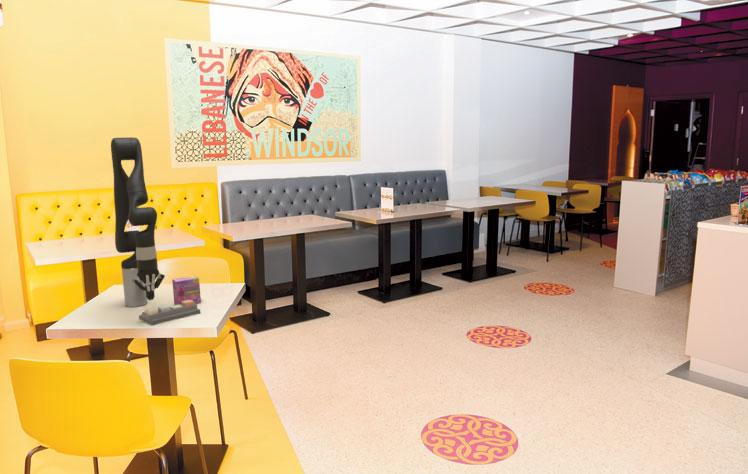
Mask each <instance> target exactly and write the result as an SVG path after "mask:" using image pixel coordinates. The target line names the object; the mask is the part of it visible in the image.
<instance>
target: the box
mask: <svg viewBox="0 0 748 474" xmlns="http://www.w3.org/2000/svg"><path fill="white" fill-rule="evenodd" d="M171 281H172V291H173V292H172V293H173V294H172V295H173V304H174V305H179V304H181V301H186V300H192V301H194V303H195V304H197V305H198V304H200V303H202V301H201V300H202V299H201V286H200V277H198V276H196V275H190V276H185V277H179V278H178V277H177V278H173V279H171Z"/></svg>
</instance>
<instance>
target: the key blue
mask: <svg viewBox="0 0 748 474" xmlns="http://www.w3.org/2000/svg"><path fill="white" fill-rule="evenodd" d="M170 306H171V305H167V304H165V305H164V304H163V305H159V306H157V307H156V309H158V311H159V312H166V311H170V310H171V309H170Z"/></svg>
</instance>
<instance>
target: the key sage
mask: <svg viewBox="0 0 748 474" xmlns="http://www.w3.org/2000/svg"><path fill="white" fill-rule="evenodd" d="M169 306H170V308H171V309H173V310H174V309H178V308H183V307H182V306H181V305H175V304H174V305H169Z"/></svg>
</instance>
